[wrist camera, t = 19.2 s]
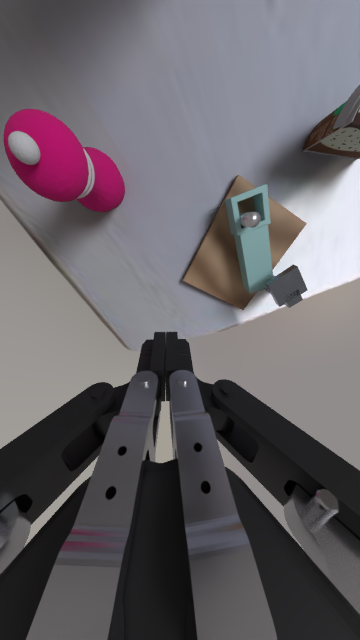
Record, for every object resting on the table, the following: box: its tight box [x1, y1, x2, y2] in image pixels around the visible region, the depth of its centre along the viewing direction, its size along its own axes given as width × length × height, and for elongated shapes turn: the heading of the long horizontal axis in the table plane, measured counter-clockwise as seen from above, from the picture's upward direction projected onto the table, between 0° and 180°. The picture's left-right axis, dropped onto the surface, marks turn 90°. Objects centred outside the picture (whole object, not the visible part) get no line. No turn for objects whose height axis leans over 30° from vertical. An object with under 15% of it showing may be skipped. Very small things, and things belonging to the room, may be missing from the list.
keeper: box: [266, 265, 307, 307], centre depth 35 cm, size 6×5×8 cm
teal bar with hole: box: [225, 184, 273, 293], centre depth 33 cm, size 16×5×4 cm, turn 19°
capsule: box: [239, 212, 261, 228], centre depth 30 cm, size 2×2×8 cm
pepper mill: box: [4, 109, 125, 212], centre depth 21 cm, size 7×7×20 cm
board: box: [183, 175, 307, 310], centre depth 35 cm, size 19×15×1 cm
